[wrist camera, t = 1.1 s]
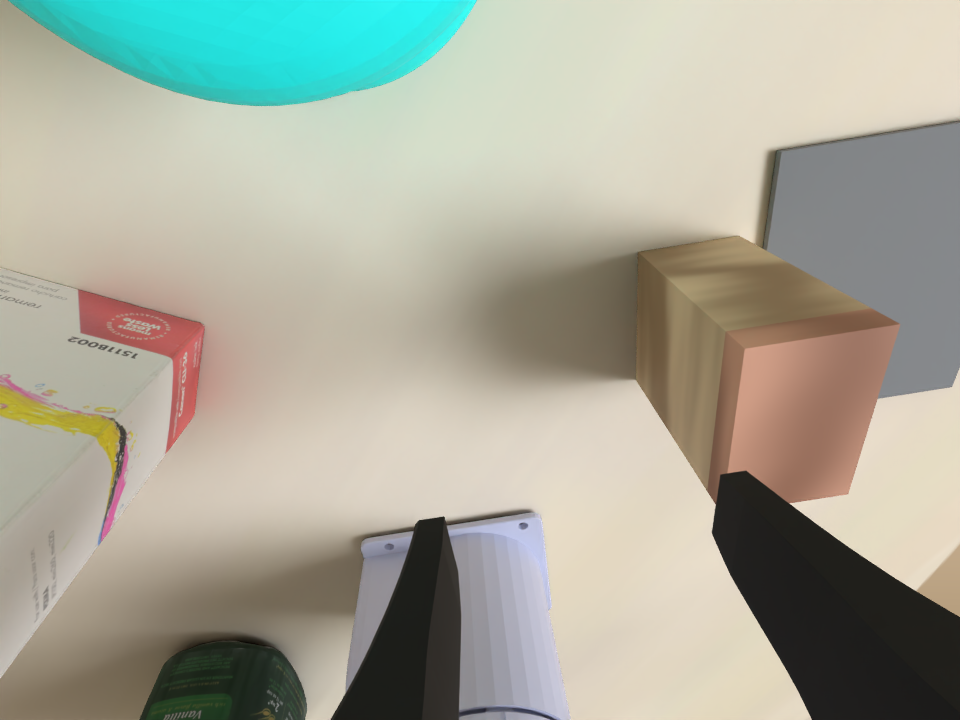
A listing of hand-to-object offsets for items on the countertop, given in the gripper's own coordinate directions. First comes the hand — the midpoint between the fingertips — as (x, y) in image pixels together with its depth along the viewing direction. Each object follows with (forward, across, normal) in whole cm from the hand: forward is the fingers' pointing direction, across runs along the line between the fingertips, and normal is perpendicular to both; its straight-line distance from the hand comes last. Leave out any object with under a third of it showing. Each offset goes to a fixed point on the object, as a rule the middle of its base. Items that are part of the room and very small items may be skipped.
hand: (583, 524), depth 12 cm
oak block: (+10, -7, 0) cm, 13 cm away
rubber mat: (+10, -15, 0) cm, 18 cm away
